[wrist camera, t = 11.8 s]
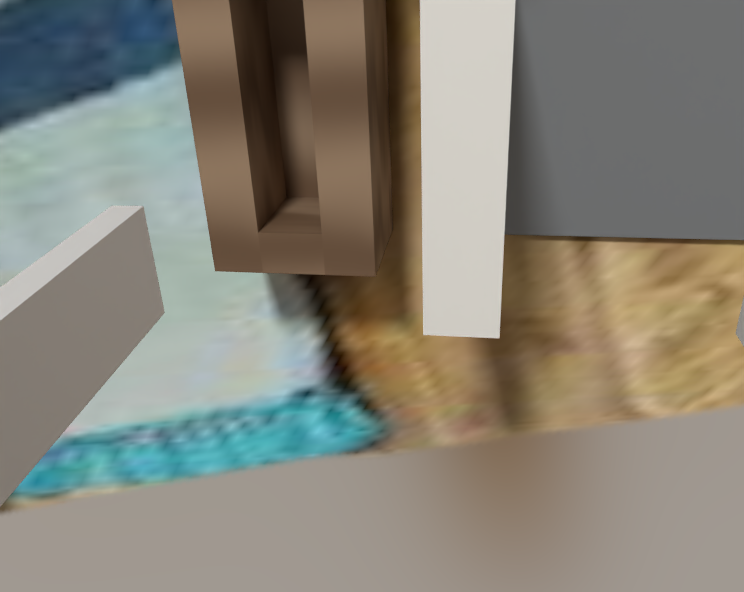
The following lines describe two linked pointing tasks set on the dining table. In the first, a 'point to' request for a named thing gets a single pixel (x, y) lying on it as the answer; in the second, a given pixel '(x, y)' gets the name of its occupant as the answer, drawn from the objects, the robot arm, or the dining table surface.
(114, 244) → the robot arm
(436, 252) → the rectangular insert block
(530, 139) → the rubber mat
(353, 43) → the slot box
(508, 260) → the dining table surface
